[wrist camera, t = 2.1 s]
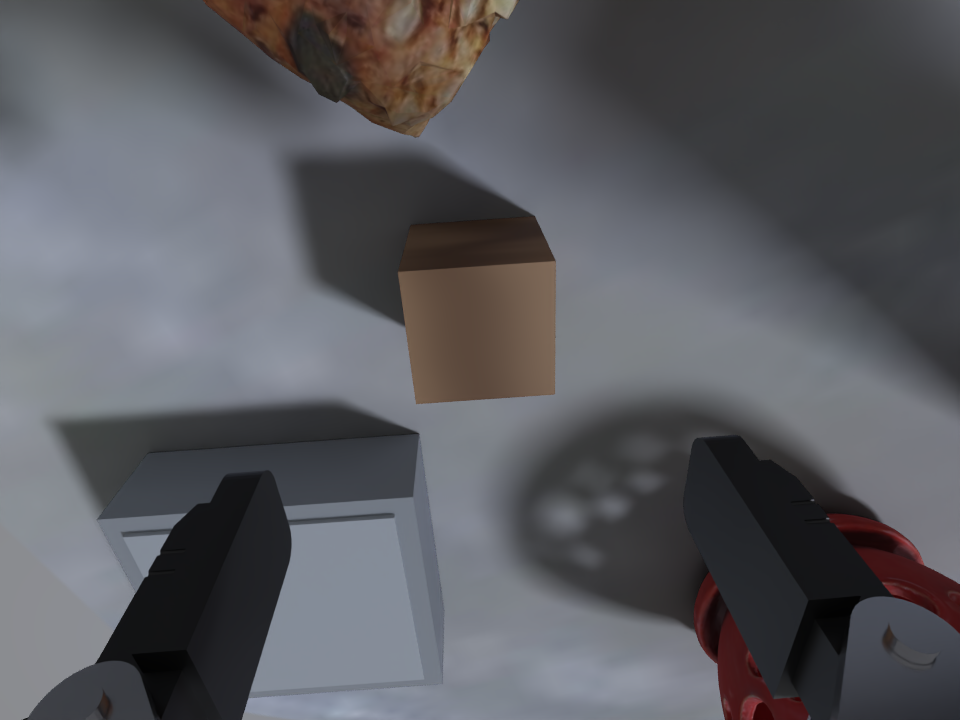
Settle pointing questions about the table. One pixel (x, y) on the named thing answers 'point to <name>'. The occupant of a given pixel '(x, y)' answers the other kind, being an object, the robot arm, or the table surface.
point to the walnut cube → (479, 309)
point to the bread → (373, 49)
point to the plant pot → (889, 557)
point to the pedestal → (316, 556)
